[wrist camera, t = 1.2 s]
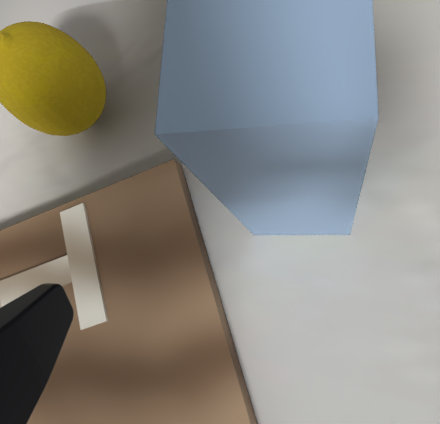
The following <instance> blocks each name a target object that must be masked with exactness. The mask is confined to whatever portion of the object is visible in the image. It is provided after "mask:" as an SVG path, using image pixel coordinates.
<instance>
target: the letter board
mask: <svg viewBox="0 0 440 424" xmlns="http://www.w3.org/2000/svg"><path fill="white" fill-rule="evenodd" d="M44 283H55V284H60V285H61V286H62V287H63V288H64V290H65V292H66V294H67V297H68V299H69V301H70V303H71V305H72V307H73V311H74V316H73V320H72V323H71V326H70V328H69V331H68V333H67V336H66V338H65V341H64V343H63V346H62V348H61V351H60V353H59V356H58V358H57V361H56V363H55V366H54V368H53V371H52V373H51V376H50V378H49V380H48V382H47V384H46V387H45V389H44V391H43V393H42V395H41V397H40V399H39V401H38V403H37V405H36V407H35V408H34V410H33V412H32V414H31V416H30V418H29V420H28V422H27V424H257V422H256V418H255V415H254V411H253V408H252V405H251V401H250V398H249V394H248V391H247V388H246V384H245V381H244V377H243V374H242V371H241V367H240V364H239V360H238V357H237V354H236V350H235V347H234V343H233V340H232V337H231V333H230V330H229V326H228V323H227V320H226V316H225V313H224V309H223V306H222V303H221V299H220V296H219V292H218V289H217V286H216V282H215V279H214V275H213V272H212V269H211V265H210V262H209V258H208V255H207V252H206V248H205V245H204V241H203V238H202V235H201V231H200V228H199V224H198V221H197V217H196V214H195V211H194V207H193V204H192V200H191V197H190V194H189V190H188V187H187V183H186V180H185V177H184V173H183V170H182V166H181V165H180V164H179V163H178V162H177V161H176V160H175V159H173V160H170V161H168V162H165V163H163V164H160V165H158V166H156V167H153V168H151V169H148V170H146V171H143V172H141V173H139V174H136V175H134V176H131V177H129V178H126V179H124V180H122V181H119V182H117V183H114V184H112V185H109V186H107V187H105V188H102V189H100V190H97V191H95V192H92V193H90V194H88V195H85V196H83V197H80V198H78V199H75V200H73V201H71V202H68V203H66V204H63V205H61V206H58V207H56V208H54V209H51V210H49V211H46V212H44V213H41V214H39V215H37V216H34V217H32V218H29V219H27V220H24V221H22V222H20V223H17V224H15V225H12V226H10V227H7V228H5V229H3V230H0V308H1V307H3V306H4V305H6V304H8V303H9V302H11V301H13V300H15V299H16V298H18V297H20V296H22V295H23V294H25V293H27V292H29V291H30V290H32V289H34V288H36V287H37V286H39V285H41V284H44Z"/></svg>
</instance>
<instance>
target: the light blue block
mask: <svg viewBox="0 0 440 424" xmlns="http://www.w3.org/2000/svg"><path fill="white" fill-rule="evenodd" d="M378 118H379V117H378V98H377V78H376V59H375V40H374V21H373V2H372V0H167V8H166V19H165V30H164V41H163V51H162V62H161V73H160V84H159V95H158V106H157V116H156V127H155V135H156V136H157V137H158V138H159V139H160V140H161V141H162V142H163V143H164V145H165V146H166V147H167V148H168V149H169V150H170V151H171V152H172V153H173V154H174V155H175V156H176V157H177V158H178V159H179V160H180V161H181V162H182V163H183V164H184V165H185V166H186V167H187V168H188V169H189V170H190V171H191V172H192V173H193V174H194V175H195V176H196V177H197V178H198V179H199V180H200V181H201V182H202V183H203V184H204V185H205V186H206V187H207V188H208V189H209V190H210V191H211V192H212V193H213V194H214V195H215V196H216V197H217V198H218V199H219V200H220V201H221V202H222V203H223V204H224V205H225V206H226V207H227V208H228V209H229V210H230V212H231V213H232V214H233V215H234V216H235V217H236V218H237V219H238V220H239V221H240V222H241V223H242V224H243V225H244V226H245V227H246V228H247V229H248V230H249V231H250V232H251V233H252V234H253V235H350V233H351V229H352V224H353V220H354V216H355V212H356V208H357V204H358V200H359V196H360V192H361V188H362V183H363V179H364V175H365V171H366V167H367V163H368V159H369V155H370V151H371V147H372V143H373V138H374V134H375V130H376V126H377V122H378Z"/></svg>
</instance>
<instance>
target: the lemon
mask: <svg viewBox="0 0 440 424" xmlns="http://www.w3.org/2000/svg"><path fill="white" fill-rule="evenodd" d="M105 101H106V87H105V82H104V78H103V75H102V73H101V71H100V69H99V67H98V65H97V64H96V62H95V60H94V59H93V58H92V56H91V55H90V54H89V53H88V52H87V51H86V50H85V49H84V48H83V47H82V46H81V45H80V44H79V43H78V42H77V41H75V40H74V39H73V38H72V37H70V36H69V35H67V34H66V33H64V32H62V31H60V30H58V29H56V28H54V27H52V26H49V25H47V24H44V23H39V22H20V23H16V24H12V25H10V26H8V27H6V28H4V29H3V30H1V31H0V103H1V104H2V105H3V106H4V107H5V108H6V109H7V110H8V111H9V112H10V113H12V114H13V115H14V116H15V117H16V118H18V119H19V120H20V121H21V122H23V123H24V124H26V125H28V126H29V127H31V128H33V129H36V130H39V131H41V132H44V133H47V134H51V135H60V136H68V135H73V134H78V133H80V132H82V131H84V130H86V129H88V128H89V127H91V126H92V125H93V124H94V123H95V122H96V121H97V120H98V118H99V117H100V115H101V113H102V111H103V109H104V105H105Z"/></svg>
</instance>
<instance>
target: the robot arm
mask: <svg viewBox="0 0 440 424" xmlns="http://www.w3.org/2000/svg"><path fill="white" fill-rule="evenodd" d="M73 316H74V311H73V307H72V305H71V303H70V301H69V299H68V297H67V294H66V292H65V290H64V288H63V287H62V286H61V285H60V284H55V283H44V284H41V285H39V286H37V287H36V288H34V289H32V290H30V291H29V292H27V293H25V294H23V295H22V296H20V297H18V298H16V299H15V300H13V301H11V302H9V303H8V304H6V305H4V306H3V307H1V308H0V424H27V422H28V420H29V418H30V416H31V414H32V412H33V410H34V408H35V407H36V405H37V403H38V401H39V399H40V397H41V395H42V393H43V391H44V389H45V387H46V384H47V382H48V380H49V378H50V376H51V373H52V371H53V368H54V366H55V363H56V361H57V358H58V356H59V353H60V351H61V348H62V346H63V343H64V341H65V338H66V336H67V333H68V331H69V328H70V326H71V323H72V320H73Z"/></svg>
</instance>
